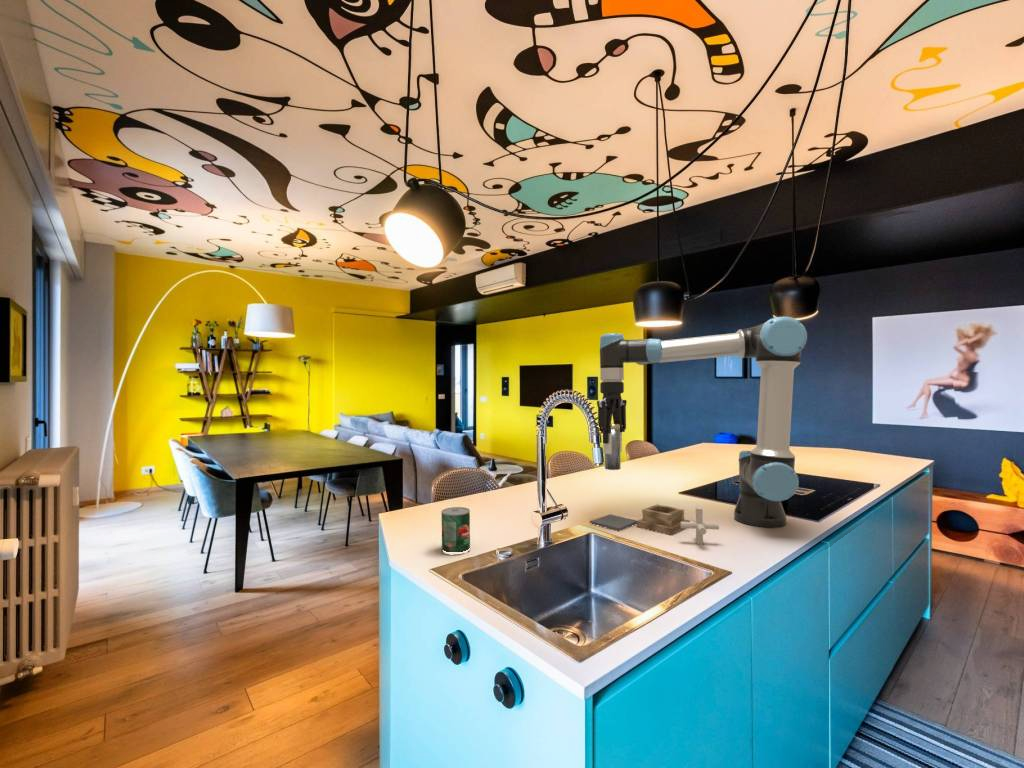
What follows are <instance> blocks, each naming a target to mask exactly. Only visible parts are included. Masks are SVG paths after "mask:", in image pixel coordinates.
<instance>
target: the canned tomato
mask: <svg viewBox="0 0 1024 768" xmlns="http://www.w3.org/2000/svg"><path fill="white" fill-rule="evenodd" d="M470 511H471V510H470V509H469V508H468V507H464V506H463V507H462V506H453V507H447V508H444V509H442V510H441V511H440V512H441V550H442V549H443V550H444V551H446V552H463V551H466V550H468V549H469V548H470V549H471V517H470V516H471V515H470V513H471V512H470Z"/></svg>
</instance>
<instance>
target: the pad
mask: <svg viewBox="0 0 1024 768" xmlns="http://www.w3.org/2000/svg"><path fill="white" fill-rule="evenodd" d="M636 521H637V520H635V519H632V518H628V517H623V516H620V515H619V516H618V515H614V514H611V513H609V514H607V515H603V516H601V517H599V518H598V517H597V518H595V519H591V520H590V521H589V524H590V523H592V524H595V525H594V526H596V525H599V526H598V527H600V526H602V527H601V528H604V527H606V528H605V529H608V528H609V529H608V530H612V529H613V531H616V530H617V531H616V532H620V530H621V531H623V529H624V530H626V529H628V528H627V527H629V528H631V527H633V526H632V525H634V526H636V525H635V524H636ZM592 524H591V525H592ZM630 526H631V527H630ZM625 528H626V529H625Z"/></svg>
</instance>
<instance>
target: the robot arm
mask: <svg viewBox="0 0 1024 768" xmlns="http://www.w3.org/2000/svg"><path fill="white" fill-rule="evenodd" d="M807 340H808V332H807V329H806V327H805V325H804V324H803V323H801V321H799V320H798V319H796V318H794V317H790V316H777V317H772V318H770V319H768V320H767V321H765V322H764V323H761V324H758V325H756V326H752V327H748V328H740V329H738V330H737V331H736V332H734V333H733V332H732V333H724V334H713V335H703V336H695V337H685V338H675V339H667V340H666V339H665V340H662V339H660V338H639V339H625V338H624V334H623V333H613V332H612V333H605V334H602V335H601V336H600V338H599V369H600V371H599V372H600V373H599V374H600V375H599V376H600V377H599V378H600V381H601V382H600V384H599V385H600V386H599V388H600V389H599V391H600V392H599V393H601V394H602V399H601V400H597V402H596V405H597V424H598V423H599V427H600V431H601V433H600V434H602V446H603V447H602V448H603V453H602V454H604V455H605V454H612V434H611V433H610V427H611V424H612V421H613V424H620V453H622V452H623V449H622V448H623V447H622V445H623V444H622V440H623V433H625V432H626V430H627V409H626V408H627V400H626V399H622V394H623V393H624V392H625V391H624V390H625V383H624V382H623V381H624V380H625V374H624V373H625V371H624V363H626V364H628V363H630V364H631V363H633V364H635V363H636V364H637V365H639V366H645V365H648V364H657V363H669V362H681V361H692V360H701V359H702V360H704V359H714V358H726V357H735V356H737V357H739V358H740V359H748V358H749V359H750V358H752V359H753V358H754V359H755V363H756V365H758V366H759V368H760V383H759V398H758V399H759V400H758V417H757V418H758V419H757V435H756V437H757V438H756V446H755V447H754V448H753V449H752V450H741V451H739V455H738V471H739V476H738V477H739V478H738V479H739V496H738V499H737V501H736V505H735V509H734V511H733V516H734V517H733V518H734V520H736V521H737V522H738V523H742V524H745V525H750V526H755V527H761V528H762V527H765V528H778V526H780V527H783V525H784V526H786V525H787V515H786V513H785V510H784V507H783V503H782V502H783V501H786V500H789V499H790V498H791V497H793V496H794V495H795V494H796V492H797V491H798V489H799V485H800V484H799V483H800V481H799V480H800V479H799V476H798V474H797V472H796V470H795V461H796V455H795V454H793V452H792V451H791V450H790V445H791V444H790V443H791V441H790V440H791V428H792V427H791V426H792V425H791V424H792V412H793V411H792V409H793V393H794V391H793V389H794V375H795V371H794V370H795V368H797V367H798V366H799V365H800V364H801V359H802V358H801V357H802V350H803V349H804V348H805V346H806V344H807ZM612 419H613V420H612ZM785 524H786V525H785Z"/></svg>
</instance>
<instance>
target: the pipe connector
mask: <svg viewBox="0 0 1024 768" xmlns="http://www.w3.org/2000/svg"><path fill="white" fill-rule="evenodd" d="M703 509H704V508H703V507H695V517H694V518H693V519H692V521H690V522H680V526H681V528H687V529H695V544H696V545H701V544H702V545H704V535H706V534H707V530H715V531H718V530H720V526H719V523H718V522H704V520H703V519H704V516H703V515H704V514H703V511H704V510H703Z"/></svg>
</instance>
